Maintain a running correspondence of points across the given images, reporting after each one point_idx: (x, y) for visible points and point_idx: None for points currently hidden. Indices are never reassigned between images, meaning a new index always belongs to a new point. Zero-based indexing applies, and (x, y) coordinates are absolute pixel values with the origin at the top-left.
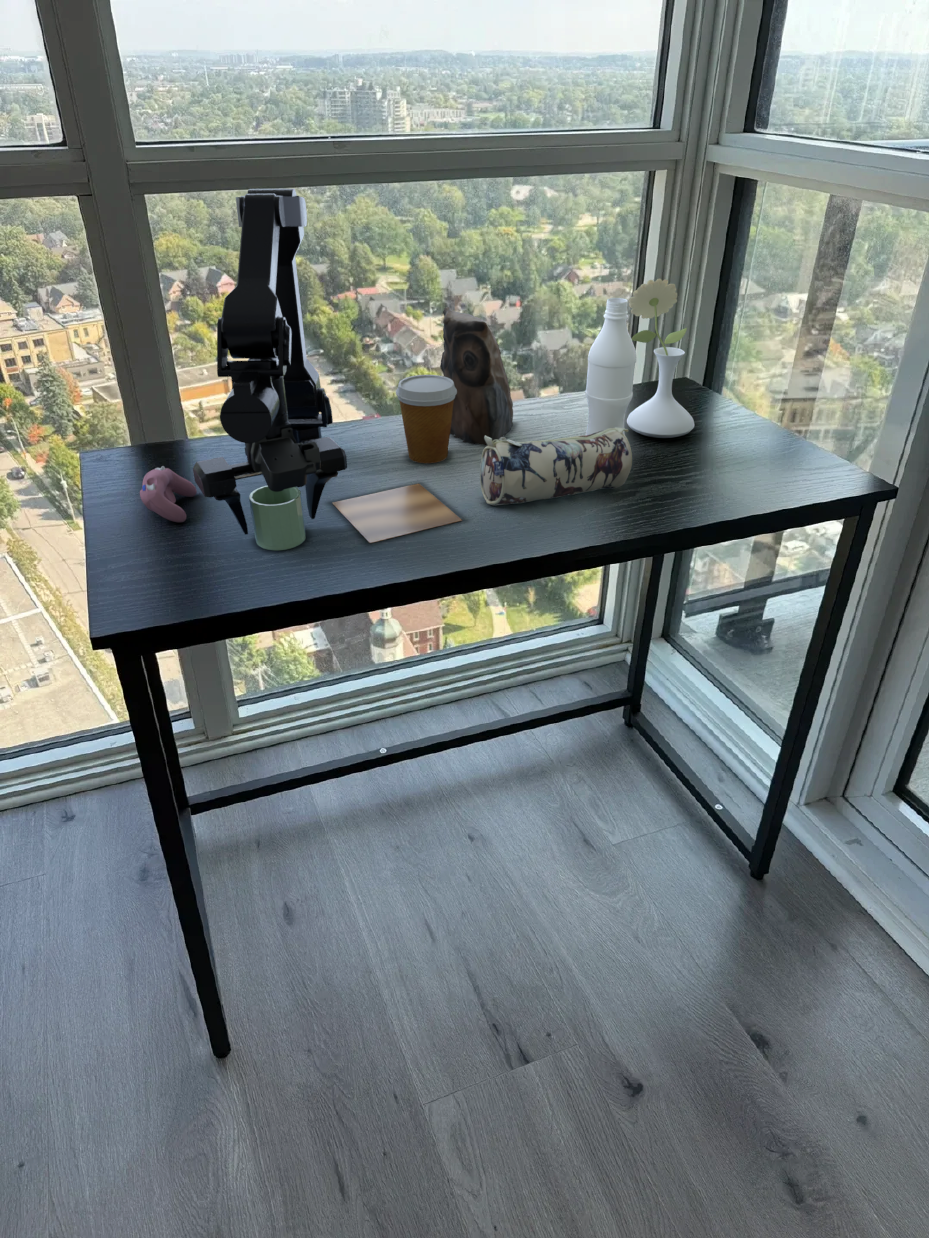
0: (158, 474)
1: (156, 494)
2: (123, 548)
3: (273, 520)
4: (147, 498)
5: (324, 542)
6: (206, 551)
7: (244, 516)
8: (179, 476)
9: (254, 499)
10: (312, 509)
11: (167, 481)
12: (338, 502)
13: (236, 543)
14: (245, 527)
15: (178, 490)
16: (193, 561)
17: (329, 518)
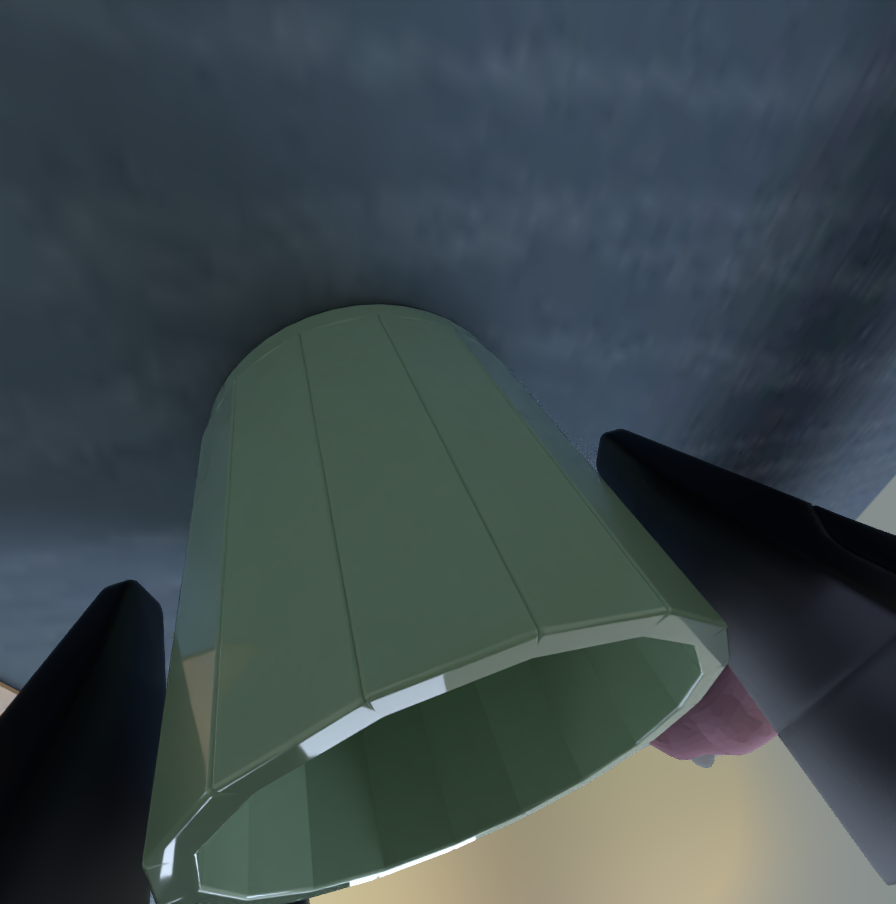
0: (761, 740)
1: None
2: (871, 452)
3: (518, 454)
4: None
5: (9, 352)
6: (721, 387)
7: (727, 513)
8: None
9: (597, 692)
10: (83, 663)
11: (721, 717)
12: None
13: (590, 434)
14: (652, 454)
15: None
16: (812, 306)
17: (65, 628)
